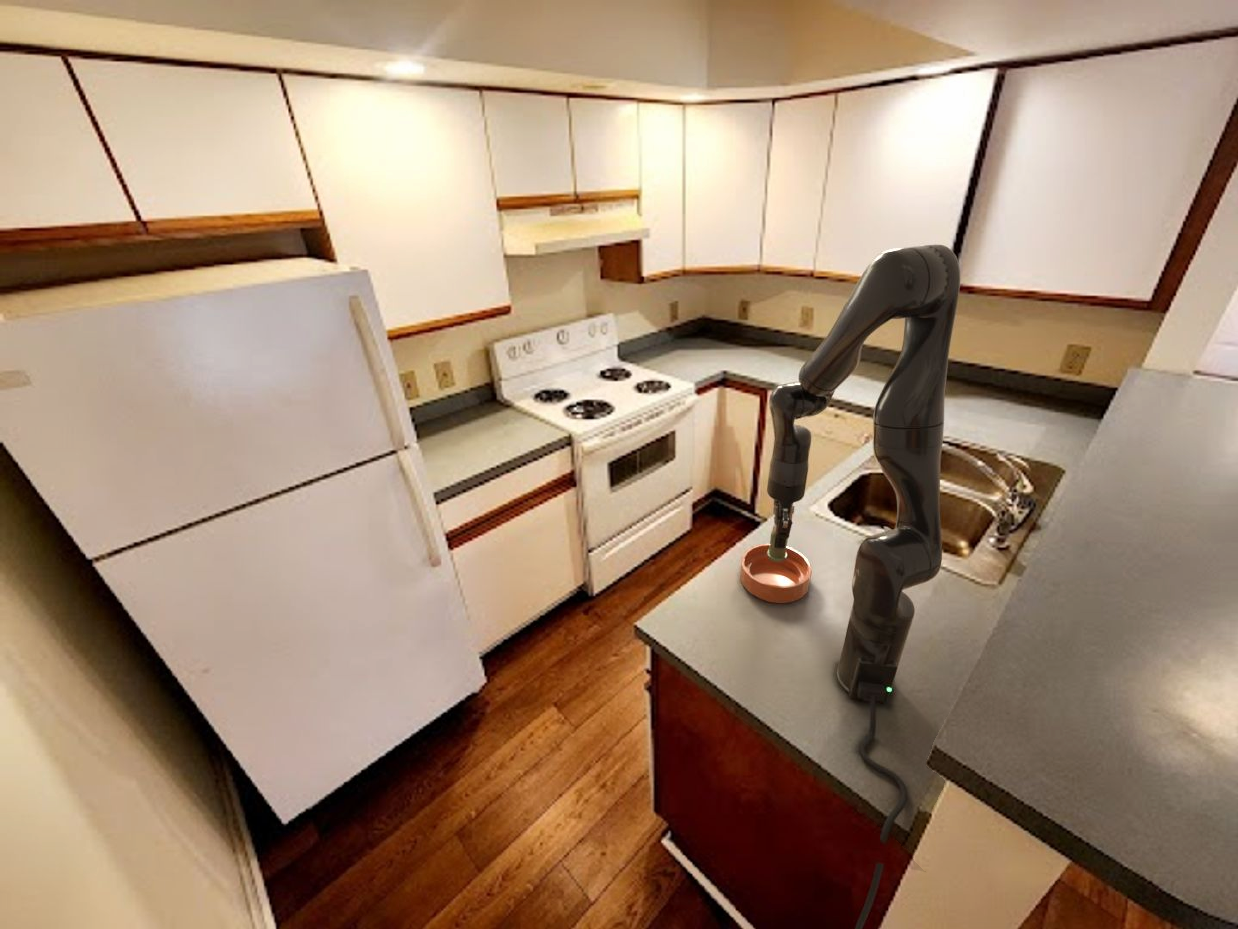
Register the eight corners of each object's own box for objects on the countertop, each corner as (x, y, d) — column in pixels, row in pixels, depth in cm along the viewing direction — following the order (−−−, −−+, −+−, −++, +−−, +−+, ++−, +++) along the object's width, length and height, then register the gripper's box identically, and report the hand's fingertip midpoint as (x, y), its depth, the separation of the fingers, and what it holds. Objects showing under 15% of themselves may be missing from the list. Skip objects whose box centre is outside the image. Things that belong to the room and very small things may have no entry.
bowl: (811, 608, 115) (814, 591, 113) (739, 600, 118) (741, 583, 116) (805, 563, 128) (807, 547, 125) (740, 557, 131) (741, 541, 128)
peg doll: (787, 563, 117) (792, 530, 113) (766, 561, 118) (771, 528, 114) (786, 550, 121) (790, 518, 116) (766, 549, 122) (770, 516, 117)
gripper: (767, 457, 116) (760, 521, 124) (770, 491, 104) (762, 560, 112) (803, 459, 114) (794, 524, 123) (810, 494, 102) (799, 564, 111)
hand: (778, 541), depth 117 cm, fingers closed on peg doll, 3 cm apart
